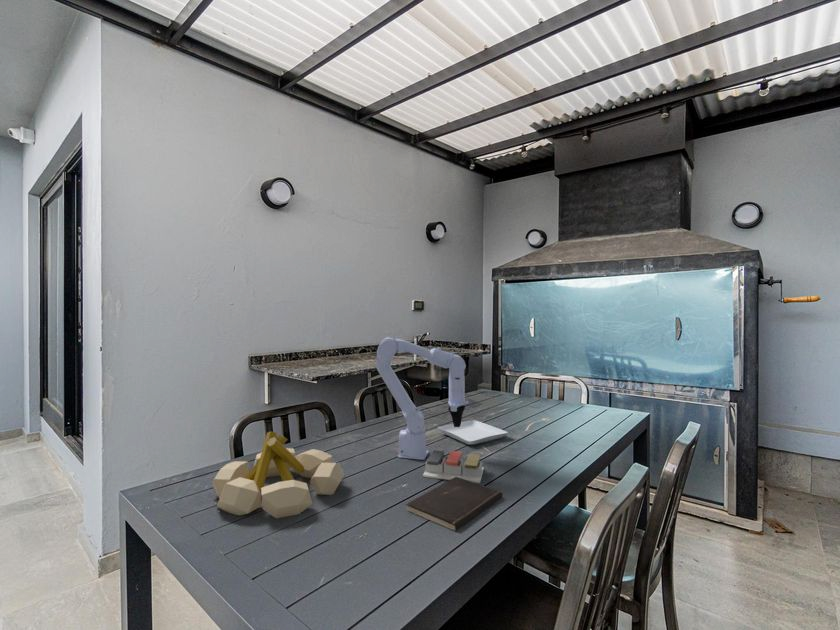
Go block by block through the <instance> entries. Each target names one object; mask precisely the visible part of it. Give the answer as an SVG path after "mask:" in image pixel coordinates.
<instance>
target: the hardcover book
mask: <svg viewBox="0 0 840 630" xmlns="http://www.w3.org/2000/svg"><path fill="white" fill-rule="evenodd" d="M501 499H503V492H502V491H501V490H498V489H494V488H491V487H489V486H485V485H482V484H481V483H474V482H471V481H468V480H465V479H462V478H459V477H454V478H453V479H451V480H448V481H445V482H444V483H441V484H440V485H438V486H436V487H434V488H432V489H430V490H429V491H427V492H425V493H423V494H421V495H420V496H418V497H416V498H415V499H412V500H411V501H409V502H407V503H405V505H406V506H407V508H406V509H407V511H408V512H409V513H412V514H415V515H417V516H420V517H421V518H424V519H426V520H428V521H431V522H433V523H436V524H438V525H441V526H443V527H445V528H447V529H450V530H451V531H455V532H458V531H459V530H460V529H462V528H463V527H464V526H465V525H467V524H468V523H470V522H471V521H472V520H474V519H476V518H477V517H478V516H479V515H481V514H482V513H484V512H485V511H487V510H488V509H489V508H491V507H492V506H494V505H495V504H496V503H497V502H499V501H500V500H501Z"/></svg>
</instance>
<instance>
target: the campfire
mask: <svg viewBox="0 0 840 630" xmlns="http://www.w3.org/2000/svg"><path fill="white" fill-rule="evenodd" d="M287 441H288V438H286V437H285V436H284V435H283V434H279V435H278V434H277V432H275V431H268V432H267V433H266V436H265V440H264V443H263V446H262V450H261V452H260V453H258V454H256V456H255V459H254V464H253V467H252V468H251V470H250V464H249V461H238V460H237V461H236V460H235V461H234V460H233V461H231V462H229V463H226V464H225V465H224V466H222V467H221V468H220V469H219V471H218V472H217V474H216V475H215V477H214V478H213V480H212V481H211V485H212V487H213V489H214V491H215V493H216V494H217V496H218V498H219V500H218V501H217V503H216V504H217V505H216V507H218V508H219V509H220V510H222V511H224V512H226V513H230V514H232V515H236V516H244V515H246V514H247V515H248V514H250V513H252V512H253V511H255V510H257V509H259V508H260V507H261V506H262V510H263V511H265V512H266V513H267V514H268V515H269V516H270V515H271V516H272V518H275V519H280V518H286V517H291V516H296V515H300V514H302V513H303V512H304V511H306V509H308V508H309V507H310V506H312V505H313V501H312V498H311V494H310V490H309V487H308V483H307V482H304V481H299V480H295V478H294V476H293V474H292V473H291V470H290V469H292V470H293V471H294V472H295V473H297V475H300V477H303V478H307V479H310V480H309V483H310V485H311V487H312V488H313V490H314V491H315V494H316V495H320V496H321V495H324V496H332V495H334V494H335V492H336V490H337V489H338V487H339V485H340V483H341V481H342V480H343V478H344V476H345V472H344V470H343V469H342V468H343V467H341V464H340V462H332V460H333V455H331V454H329V453H327V452H325V451H322V450H318V449H315V448H312V449H309V450H306V451H304V452H302V453H299V454H297V455H296V452H295V449H294V448H293V447H292V448H290V447H286V446H285V443H286V442H287ZM277 476H280V478H281V481H277V482H275V483H272V484H268V485H265V483H266V479H267V478H272V477H277ZM301 512H302V513H301Z"/></svg>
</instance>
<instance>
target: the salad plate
mask: <svg viewBox="0 0 840 630" xmlns="http://www.w3.org/2000/svg"><path fill="white" fill-rule="evenodd" d="M437 429H438V430H439V432H441V433H443V434H445V435H446V436H448V437H450V438H452V439H455V440H457V441H459V442H461V443H464V444H466V445H469V446H471V445H472V446H473V445H478V444H482V443H487V442H490V441H494V440H498V439H501V438H503V437H505V436H507V435H508V433H509V432H508V431H506V430H504V429H501V428H498V427H495V426H493V425H490V424H487V423H484V422H481V421H479V420H475V419H472V420H467V421H461V425H460V427H454V425H453V423H450V424H446V425H442V426H438V427H437Z"/></svg>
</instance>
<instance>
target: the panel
mask: <svg viewBox="0 0 840 630" xmlns="http://www.w3.org/2000/svg"><path fill="white" fill-rule="evenodd" d="M428 459H429V457H428V458H427V460H428ZM427 460H426V461H425V464H424V465H425V467H424V468H425V469H424V473H423V474H422V478H429V479H431V478H432V479H439V480H448V481H449V480H451V479H453V478H454V477H459V478H462V479H465V480H468V481H471V482H474V483H477V484H481V482H482V481H481V480H482V478H483V473H484V469H485V467H483V461H479V462H478V466H477V469H469V468H465V463H466V460H467V459H466V460H464V459H460V460H459V462H458V466H452V465H446V460H447V458H443V457H442V459H441V461H440V464H439V465H429V464H427Z"/></svg>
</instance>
